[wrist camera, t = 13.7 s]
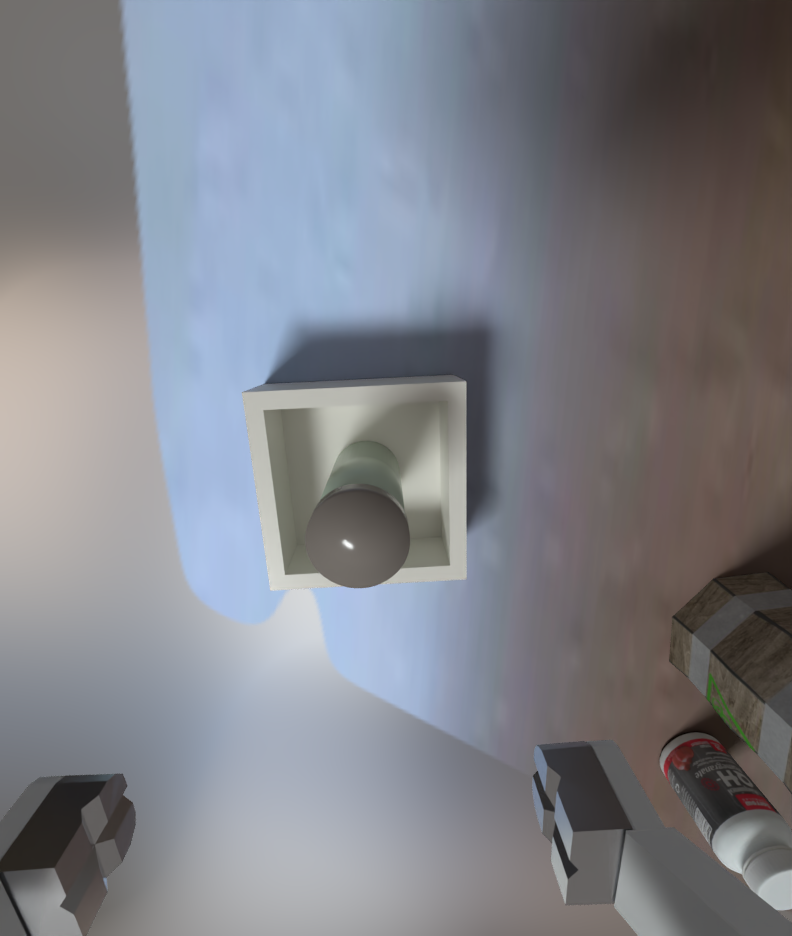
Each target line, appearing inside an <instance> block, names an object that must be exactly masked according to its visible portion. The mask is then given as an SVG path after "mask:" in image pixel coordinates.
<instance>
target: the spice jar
mask: <svg viewBox="0 0 792 936" xmlns="http://www.w3.org/2000/svg"><path fill="white" fill-rule="evenodd" d="M305 546H306V551H307V554H308V557H309V559H310V561H311V563H312V564H313V566H314V567H315V568H316V570H317V571H318V572H319V573H320V574H321V575H323V576H324V577H325V578H327V579H328V580H330V581H332V582H334V583H336V584H338V585H341V586H345V587H350V588H367V587H372V586H375V585H378V584H381V583H383V582H385V581H387V580H388V579H390V578H391V577H393V576H394V575H395V574H396V573H397V572H398V571H399V570H400V569H401V567H402V566H403V564H404V563H405V561H406V558H407V556H408V553H409V548H410V533H409V525H408V520H407V516H406V513H405V510H404V501H403V492H402V484H401V475H400V467H399V463H398V461H397V458H396V457H395V455H394V454H393V453H392V451H391V450H390V449H388V448H387V447H386V446H384V445H382V444H380V443H378V442H374V441H359V442H355V443H353V444H351V445H349V446H347V447H346V448H345V449H344V450H342V451H341V453H340V454H339V455H338V457H337V459H336V461H335V464H334V466H333V469H332V471H331V474H330V476H329V479H328V481H327V484H326V486H325V489H324V491H323V494H322V496H321V499H320V501H319V503H318V504H317V505H316V507H315V509H314V511H313V513H312V516H311V518H310V520H309V523H308V525H307V529H306V534H305Z"/></svg>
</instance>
